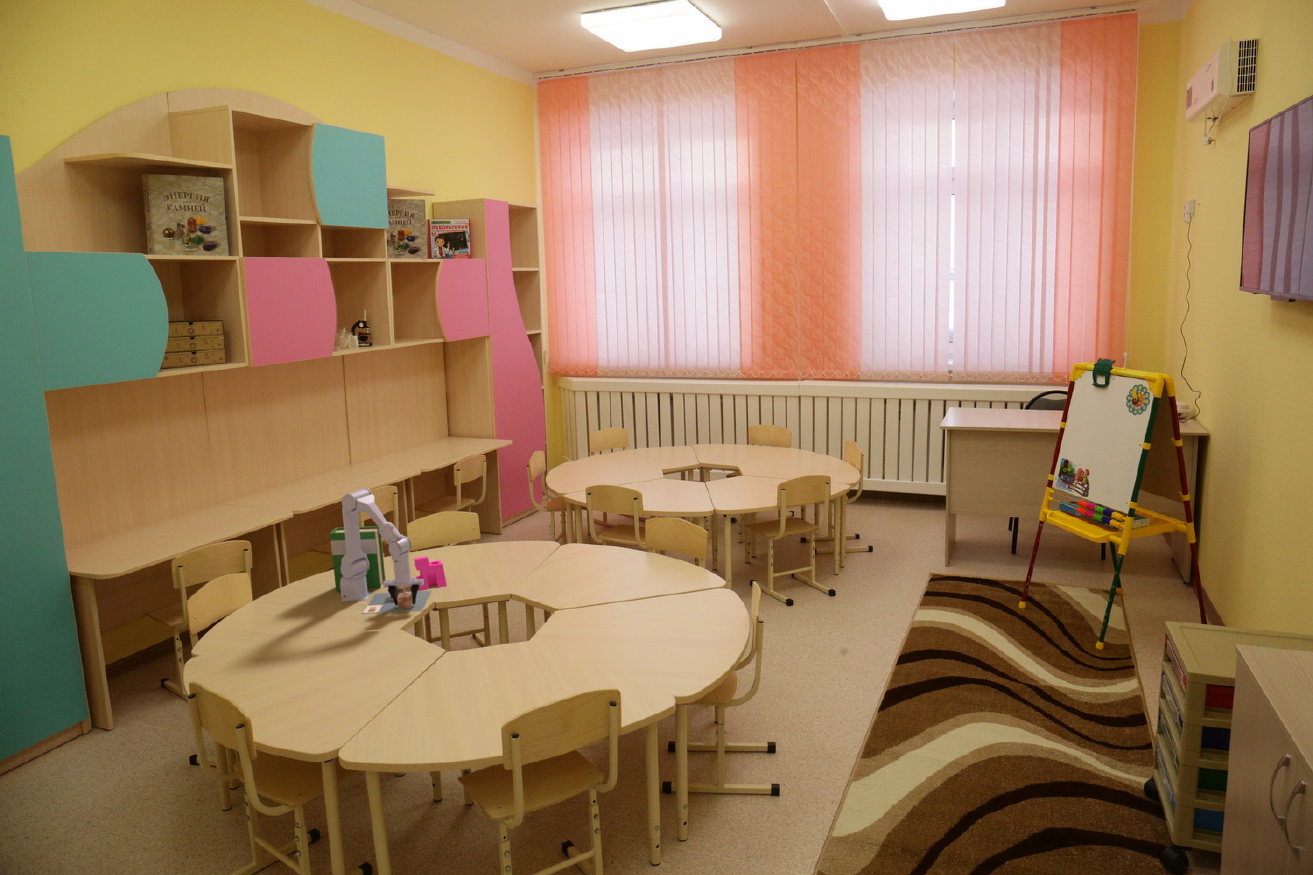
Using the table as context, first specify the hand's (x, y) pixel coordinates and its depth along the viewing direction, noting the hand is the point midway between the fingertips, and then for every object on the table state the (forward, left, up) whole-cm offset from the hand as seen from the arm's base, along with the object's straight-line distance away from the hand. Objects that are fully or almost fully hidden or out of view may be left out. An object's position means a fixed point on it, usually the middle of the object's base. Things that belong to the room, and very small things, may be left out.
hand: (405, 604), depth 335 cm
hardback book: (-23, +25, -2) cm, 34 cm away
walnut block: (-5, +11, -1) cm, 12 cm away
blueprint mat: (-4, +5, -1) cm, 7 cm away
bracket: (+5, +23, -2) cm, 24 cm away
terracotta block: (0, 0, -1) cm, 1 cm away
